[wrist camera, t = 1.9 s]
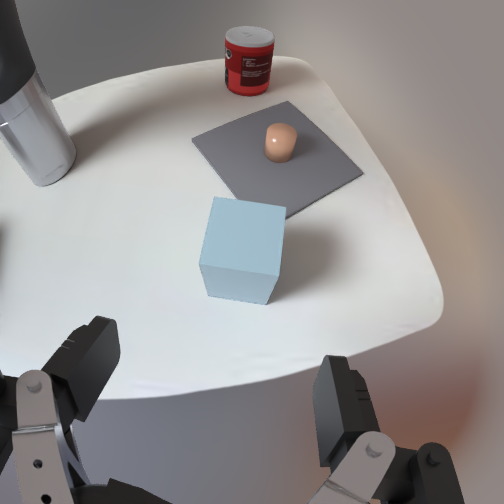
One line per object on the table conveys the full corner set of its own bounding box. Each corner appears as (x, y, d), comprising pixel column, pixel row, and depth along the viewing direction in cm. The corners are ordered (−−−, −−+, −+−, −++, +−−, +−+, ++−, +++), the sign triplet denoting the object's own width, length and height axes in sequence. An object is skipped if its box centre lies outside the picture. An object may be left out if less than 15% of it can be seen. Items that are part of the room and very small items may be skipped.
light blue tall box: (265, 304, 33) (279, 276, 24) (208, 296, 33) (198, 263, 24) (272, 251, 35) (286, 207, 26) (218, 243, 35) (214, 196, 26)
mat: (191, 140, 42) (191, 138, 41) (287, 103, 46) (287, 101, 46) (262, 232, 36) (262, 230, 36) (361, 174, 41) (363, 172, 41)
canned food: (238, 70, 50) (240, 22, 40) (275, 82, 49) (283, 33, 39) (216, 88, 47) (215, 36, 37) (256, 102, 46) (261, 48, 36)
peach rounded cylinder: (258, 148, 41) (260, 128, 37) (280, 139, 42) (284, 119, 38) (275, 167, 40) (279, 147, 36) (297, 156, 41) (303, 137, 37)
